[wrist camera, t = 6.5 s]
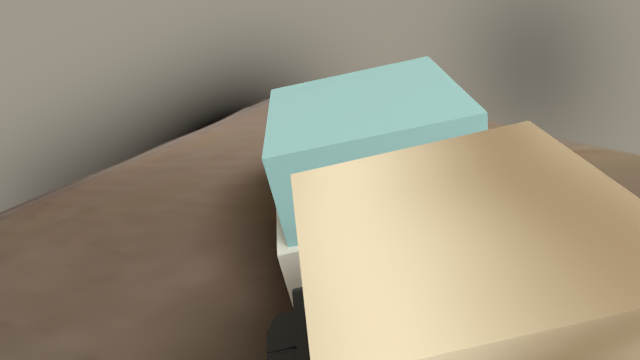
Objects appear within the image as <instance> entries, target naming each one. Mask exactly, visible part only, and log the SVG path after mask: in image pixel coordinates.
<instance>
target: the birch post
mask: <svg viewBox="0 0 640 360" xmlns="http://www.w3.org/2000/svg"><path fill="white" fill-rule="evenodd" d="M290 176H291V185H292V194H293V203H294V213H295V222H296V231H297V241H298V250H299V259H300V268H301V278H302V287H303V296H304V306H305V315H306V324H307V333H308V343H309V352H310V360H640V198H638V197H637V196H635V195H634V194H632V193H631V192H630V191H628V190H627V189H625V188H624V187H622V186H621V185H620V184H618V183H617V182H615V181H614V180H613V179H611V178H610V177H608V176H607V175H605V174H604V173H603V172H601V171H600V170H598V169H597V168H595V167H594V166H593V165H591V164H590V163H588V162H587V161H586V160H584V159H583V158H581V157H580V156H578V155H577V154H576V153H574V152H573V151H571V150H570V149H568V148H567V147H566V146H564V145H563V144H561V143H560V142H558V141H557V140H556V139H554V138H553V137H551V136H550V135H549V134H547V133H546V132H544V131H543V130H541V129H540V128H538V127H537V126H536V125H534V124H533V123H531V122H530V121H525V122H521V123H516V124H512V125H507V126H503V127H498V128H494V129H490V130H485V131H481V132H476V133H472V134H467V135H463V136H459V137H454V138H450V139H445V140H441V141H436V142H432V143H427V144H423V145H419V146H414V147H410V148H405V149H401V150H396V151H392V152H388V153H383V154H379V155H374V156H370V157H365V158H361V159H357V160H352V161H348V162H343V163H339V164H334V165H330V166H325V167H321V168H317V169H312V170H308V171H303V172H299V173H294V174H290Z"/></svg>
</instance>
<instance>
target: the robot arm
mask: <svg viewBox="0 0 640 360" xmlns="http://www.w3.org/2000/svg"><path fill="white" fill-rule="evenodd" d="M292 298H293V311H291V312H287V313H283V314H278V315H275V317H274V319H273V321H272V323H271V325H270V328H269V330H268V332H267V355H268V356H267V360H310V352H309V343H308V333H307V324H306V315H305V306H304V296H303V287H299V288H295V289H292Z"/></svg>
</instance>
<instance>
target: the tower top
mask: <svg viewBox="0 0 640 360" xmlns="http://www.w3.org/2000/svg"><path fill="white" fill-rule="evenodd" d="M485 130H488V117H487V112H486V111H485V110H484V109H483V108H482V107H481V106H480V105H479V104H478V103H477V102H476V101H475V100H474V99H473V98H471V97H470V96H469V95H468V94H467V93H466V92H465V91H464V90H463V89H462V88H461V87H460V86H459V85H458V84H456V82H454V81H453V80H452V79H451V78H450V77H449V76H448V75H447V74H446V73H445V72H444V71H443V70H442V69H441V68H440V67H439V66H438V65H437V64H435V63H434V62H433V61H432V60H431V59H430V58H429V57H428V56H427V57H422V58H418V59H413V60H408V61H404V62H399V63H394V64H389V65H385V66H380V67H376V68H371V69H367V70H361V71H357V72H352V73H347V74H343V75H338V76H334V77H329V78H324V79H319V80H315V81H310V82H305V83H301V84H296V85H291V86H287V87H282V88H277V89H273V90H271V95H270V103H269V110H268V117H267V125H266V132H265V140H264V147H263V155H262V161H263V165H264V168H265V171H266V175H267V178H268V181H269V185H270V188H271V192H272V195H273V198H274V202H275V205H276V209H277V212H278V215H279V219H280V222H281V226H282V229H283V232H284V236H285V239H286V243H287V246H288V247H293V246H298V241H297V231H296V222H295V213H294V203H293V194H292V185H291V176H290V174H294V173H299V172H303V171H308V170H312V169H317V168H321V167H325V166H330V165H334V164H339V163H343V162H348V161H352V160H357V159H361V158H365V157H370V156H374V155H379V154H383V153H388V152H392V151H396V150H401V149H405V148H410V147H414V146H419V145H423V144H427V143H432V142H436V141H441V140H445V139H450V138H454V137H459V136H463V135H467V134H472V133H476V132H481V131H485Z"/></svg>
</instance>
